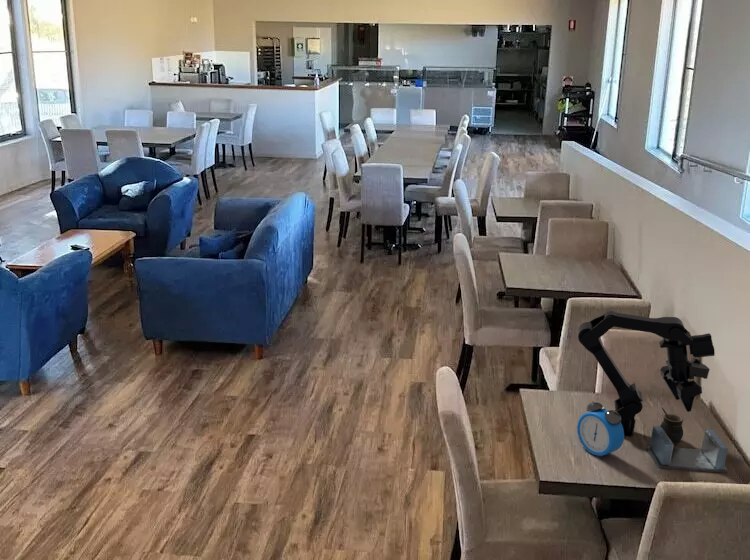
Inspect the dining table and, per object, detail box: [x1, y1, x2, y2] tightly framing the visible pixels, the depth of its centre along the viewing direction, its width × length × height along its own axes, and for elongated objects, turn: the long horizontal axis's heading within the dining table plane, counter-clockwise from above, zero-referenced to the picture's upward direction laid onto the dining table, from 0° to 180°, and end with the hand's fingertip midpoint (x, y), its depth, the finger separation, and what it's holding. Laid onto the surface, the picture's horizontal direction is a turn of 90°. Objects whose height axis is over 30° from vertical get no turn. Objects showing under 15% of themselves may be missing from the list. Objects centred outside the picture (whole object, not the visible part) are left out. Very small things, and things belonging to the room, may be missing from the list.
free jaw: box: [649, 425, 675, 465], centre depth 223 cm, size 2×11×7 cm, turn 178°
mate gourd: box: [659, 407, 684, 445], centre depth 234 cm, size 7×8×10 cm
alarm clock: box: [576, 400, 625, 460], centre depth 224 cm, size 13×6×15 cm, turn 35°
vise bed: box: [646, 428, 729, 473], centre depth 223 cm, size 20×11×8 cm, turn 88°
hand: (683, 405), depth 232 cm, fingers open, 9 cm apart
